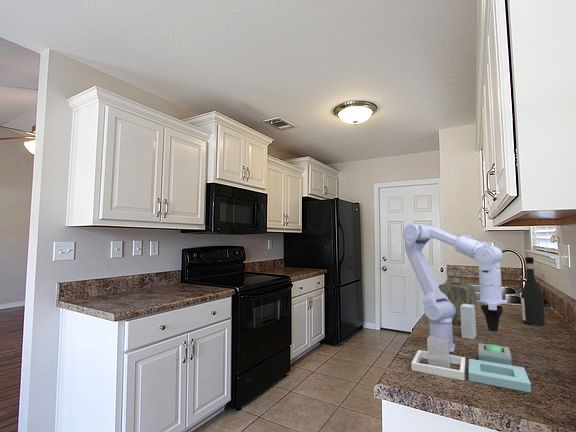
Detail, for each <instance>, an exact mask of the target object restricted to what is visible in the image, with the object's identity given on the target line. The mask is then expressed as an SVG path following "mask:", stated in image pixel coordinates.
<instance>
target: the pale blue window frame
mask: <svg viewBox="0 0 576 432" xmlns="http://www.w3.org/2000/svg"><path fill="white" fill-rule="evenodd" d="M468 381H469V382H473V383H479V384H483V385H484V384H485V385H489V386H495V387H500V388H503V389H504V388H506V389H510V390H516V391H521V392H525V393H526V392H527V393H532V384H531V381H530V379H529V377H528V373H527V372H526V370H525V368H524V366H523V367H522V366H517V365H505V364H499V363H493V362H487V361H481V360H479V359H473V358H469V359H468Z"/></svg>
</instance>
